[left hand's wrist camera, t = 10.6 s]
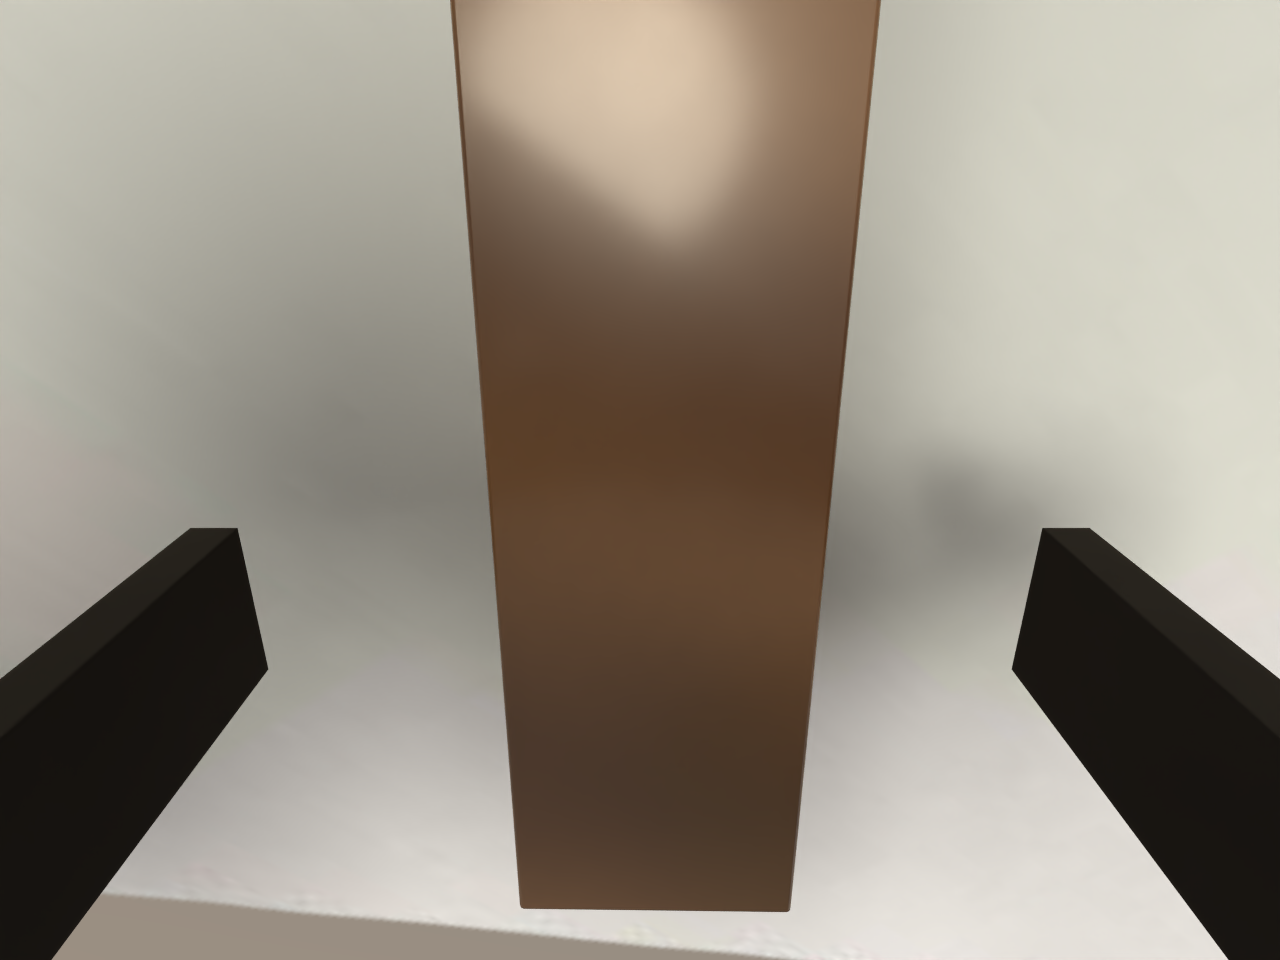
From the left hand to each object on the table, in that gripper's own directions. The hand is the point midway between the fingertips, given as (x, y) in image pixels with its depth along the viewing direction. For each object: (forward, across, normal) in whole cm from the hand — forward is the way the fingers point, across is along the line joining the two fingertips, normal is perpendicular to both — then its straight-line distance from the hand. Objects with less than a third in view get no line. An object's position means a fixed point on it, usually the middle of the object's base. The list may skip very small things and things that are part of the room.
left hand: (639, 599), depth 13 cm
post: (+6, 0, -35) cm, 35 cm away
